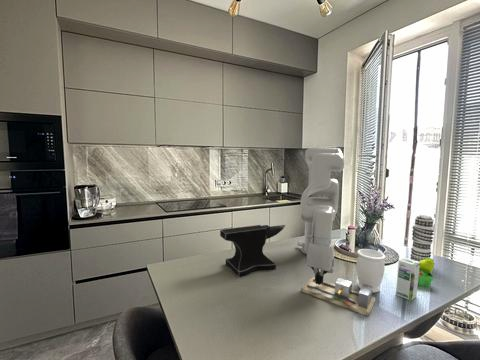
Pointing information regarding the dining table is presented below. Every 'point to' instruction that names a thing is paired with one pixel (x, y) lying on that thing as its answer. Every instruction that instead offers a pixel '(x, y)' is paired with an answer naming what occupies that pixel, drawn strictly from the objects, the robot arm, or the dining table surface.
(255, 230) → the anvil
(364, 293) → the gauge hardware
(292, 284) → the dining table surface
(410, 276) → the syrup box
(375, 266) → the jar
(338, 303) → the gauge board
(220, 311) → the dining table surface
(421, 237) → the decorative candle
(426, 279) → the fruit basket
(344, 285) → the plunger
